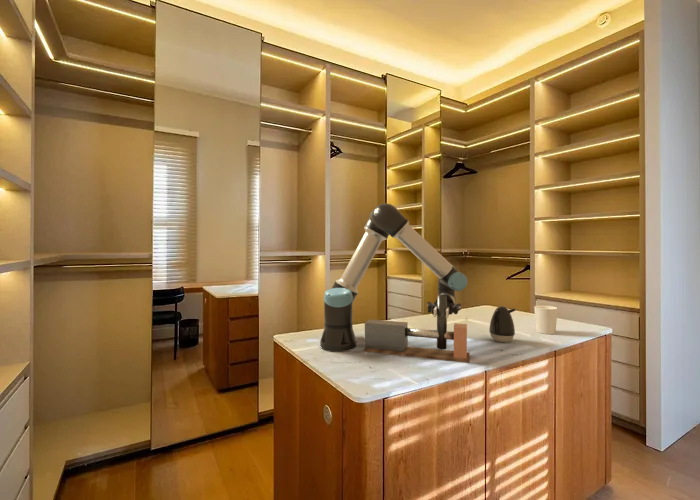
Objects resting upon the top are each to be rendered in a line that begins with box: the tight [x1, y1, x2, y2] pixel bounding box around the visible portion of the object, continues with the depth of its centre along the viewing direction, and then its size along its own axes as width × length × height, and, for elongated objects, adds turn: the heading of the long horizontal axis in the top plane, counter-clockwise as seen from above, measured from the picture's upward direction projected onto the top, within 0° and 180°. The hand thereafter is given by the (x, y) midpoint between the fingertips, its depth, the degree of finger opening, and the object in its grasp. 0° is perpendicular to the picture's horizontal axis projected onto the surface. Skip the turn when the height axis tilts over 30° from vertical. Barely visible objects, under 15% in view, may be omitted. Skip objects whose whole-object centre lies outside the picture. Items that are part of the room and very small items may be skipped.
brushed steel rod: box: [405, 294, 454, 350], centre depth 133 cm, size 24×4×20 cm, turn 71°
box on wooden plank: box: [364, 319, 409, 352], centre depth 139 cm, size 16×6×10 cm, turn 71°
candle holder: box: [533, 305, 558, 335], centre depth 167 cm, size 10×10×12 cm
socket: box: [453, 322, 468, 359], centre depth 130 cm, size 4×7×11 cm, turn 161°
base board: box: [363, 346, 471, 364], centre depth 135 cm, size 40×9×1 cm, turn 71°
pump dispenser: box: [489, 305, 516, 343], centre depth 152 cm, size 10×10×15 cm
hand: (440, 313), depth 127 cm, fingers open, 4 cm apart
